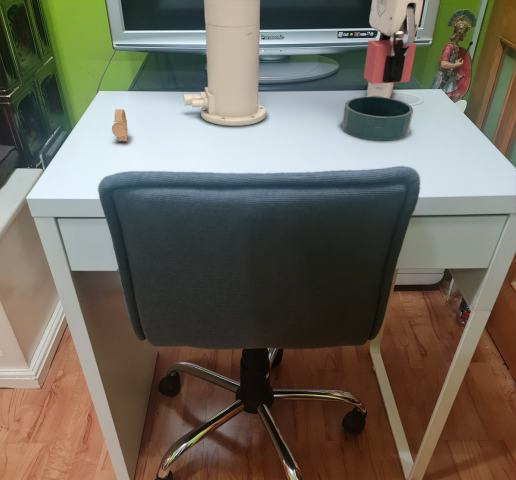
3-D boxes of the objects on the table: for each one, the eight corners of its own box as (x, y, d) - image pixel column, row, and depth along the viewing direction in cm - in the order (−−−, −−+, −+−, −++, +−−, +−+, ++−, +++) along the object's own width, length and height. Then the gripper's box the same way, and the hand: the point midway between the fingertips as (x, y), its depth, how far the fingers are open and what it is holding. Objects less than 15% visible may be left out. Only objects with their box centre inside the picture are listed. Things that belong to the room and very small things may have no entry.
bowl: (355, 142, 90) (358, 119, 87) (333, 119, 99) (336, 97, 96) (419, 139, 92) (424, 115, 89) (392, 116, 101) (396, 95, 98)
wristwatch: (114, 145, 86) (109, 114, 83) (117, 135, 90) (113, 105, 86) (130, 145, 86) (125, 114, 83) (133, 135, 90) (129, 105, 87)
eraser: (371, 84, 87) (377, 45, 84) (363, 77, 90) (368, 40, 87) (409, 81, 89) (416, 44, 85) (400, 75, 91) (406, 39, 88)
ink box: (371, 89, 115) (380, 28, 107) (393, 91, 114) (404, 30, 106) (365, 99, 109) (374, 36, 101) (388, 102, 108) (400, 38, 100)
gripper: (363, -58, 83) (349, 67, 95) (407, -50, 70) (384, 92, 83) (406, -59, 84) (387, 65, 96) (456, -50, 72) (427, 90, 84)
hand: (386, 76), depth 89 cm, fingers closed on eraser, 4 cm apart
